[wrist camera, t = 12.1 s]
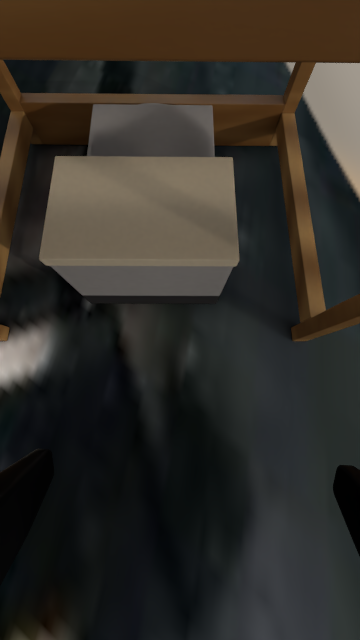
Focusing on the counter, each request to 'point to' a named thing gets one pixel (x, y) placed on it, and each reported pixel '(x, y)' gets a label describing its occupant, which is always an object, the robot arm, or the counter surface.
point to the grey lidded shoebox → (144, 208)
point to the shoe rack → (228, 110)
